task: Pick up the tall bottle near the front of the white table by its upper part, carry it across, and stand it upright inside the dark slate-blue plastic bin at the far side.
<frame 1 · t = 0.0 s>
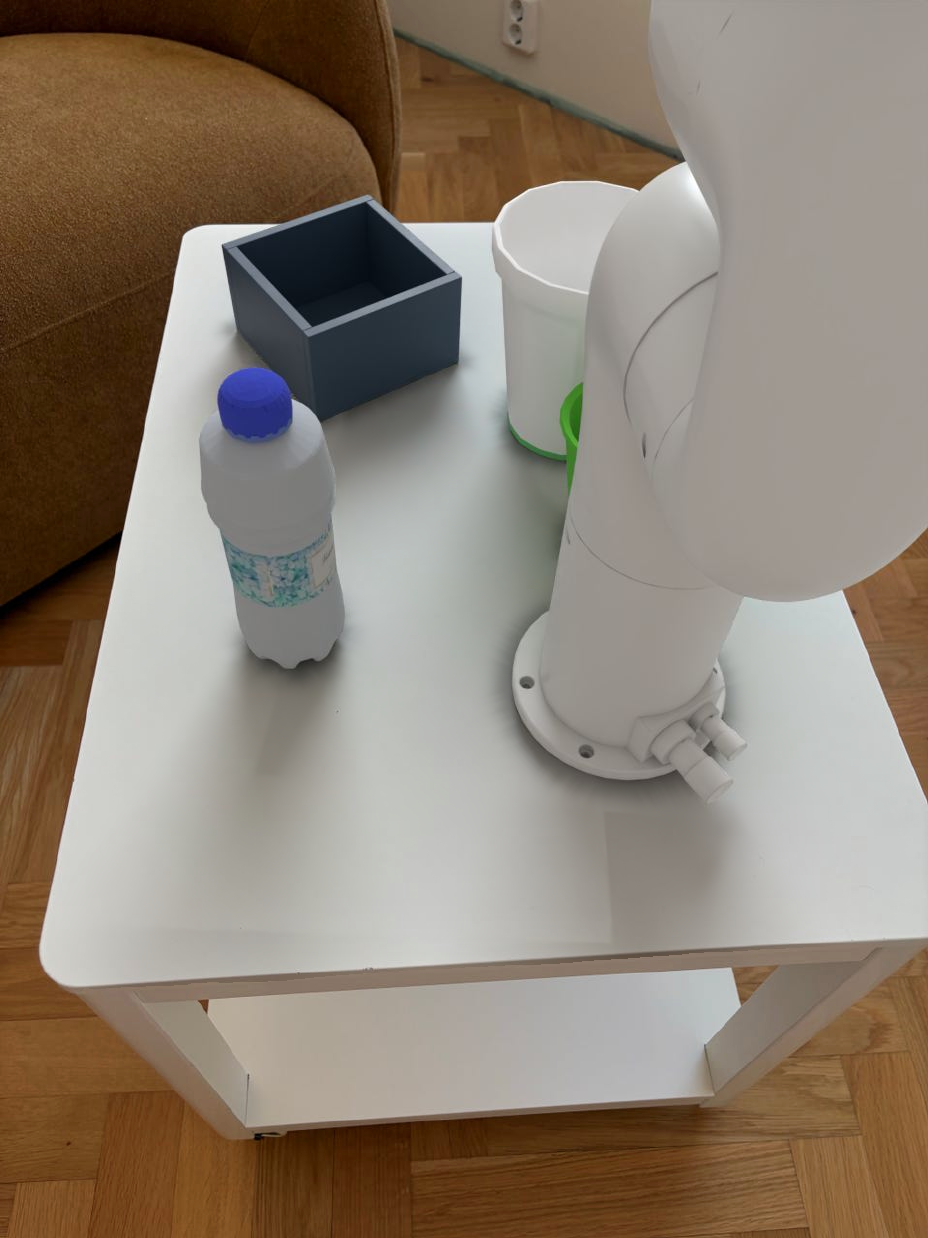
cup 2: (563, 423, 74), on the table
bottle: (295, 637, 61), on the table
cup: (607, 545, 67), on the table
bin: (346, 346, 78), on the table
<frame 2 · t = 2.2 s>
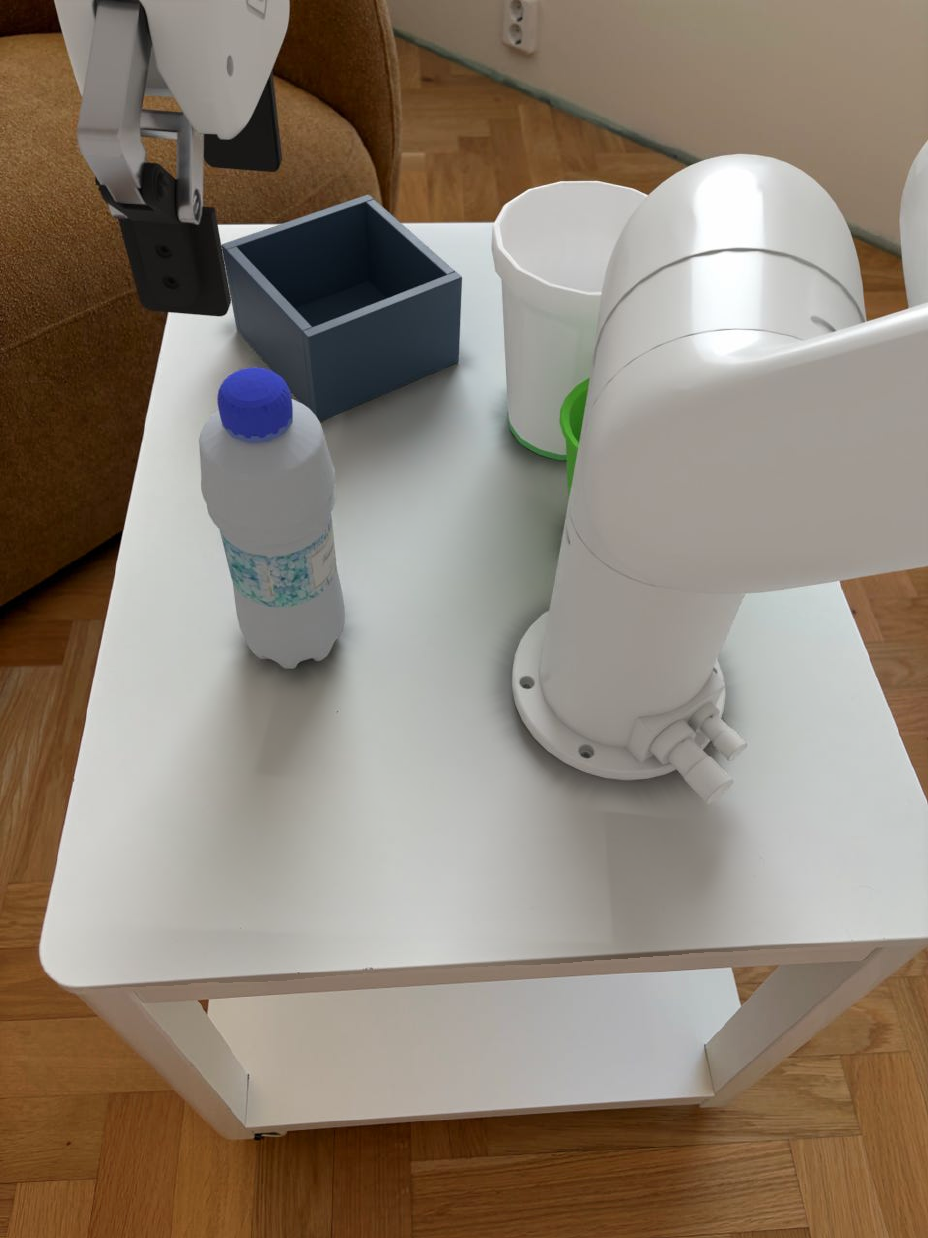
hand: (218, 232, 39), 27 cm above the table, tool pointing down, fingers open, 9 cm apart
nothing on the table moved.
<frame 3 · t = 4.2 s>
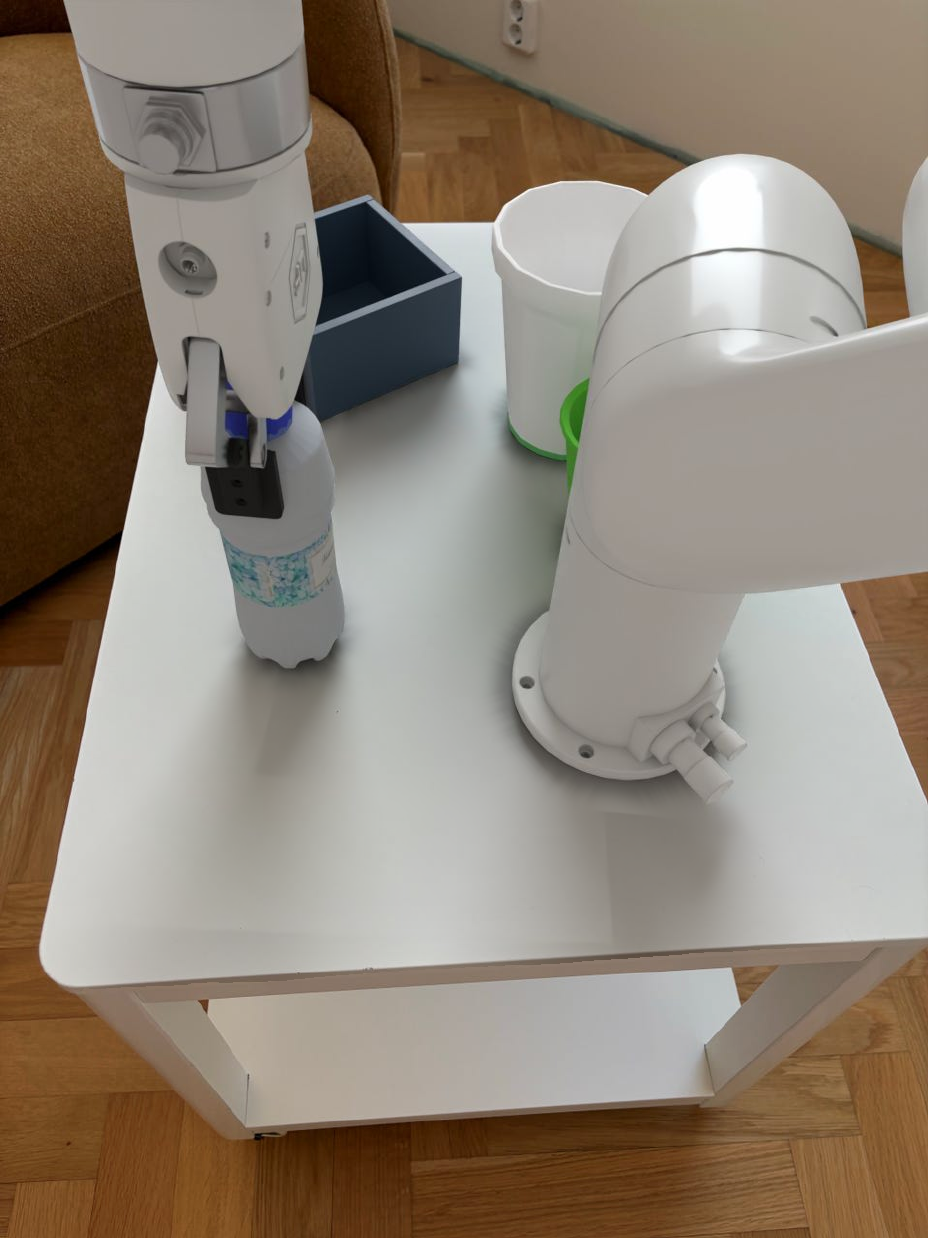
hand: (264, 459, 49), 15 cm above the table, tool pointing down, fingers closed on bottle, 6 cm apart
bottle: (295, 637, 61), on the table, touching gripper
everything else where it was.
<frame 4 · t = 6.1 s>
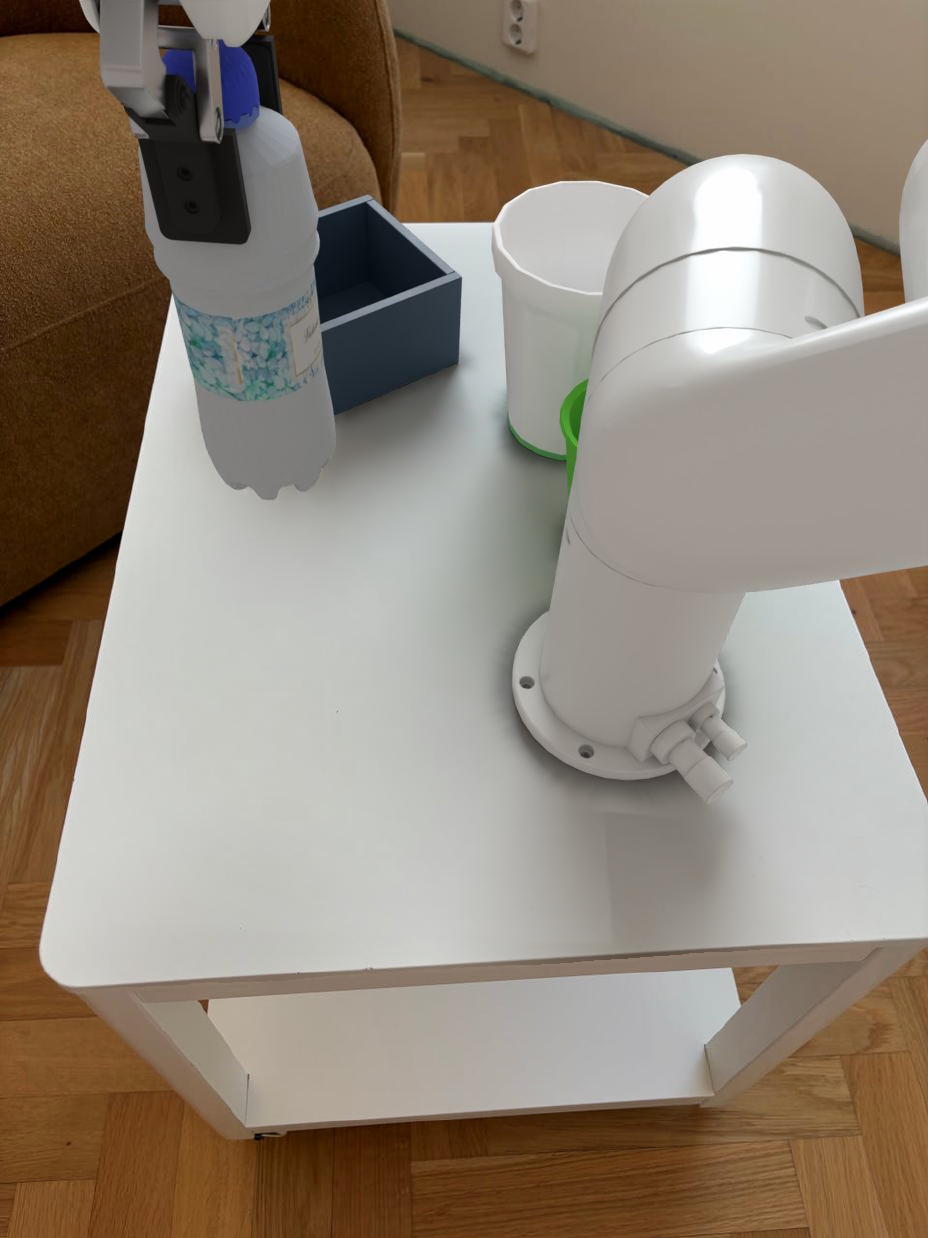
hand: (226, 182, 38), 29 cm above the table, tool pointing down, fingers closed on bottle, 6 cm apart
bottle: (276, 468, 50), point 14 cm above the table, touching gripper
everything else where it was.
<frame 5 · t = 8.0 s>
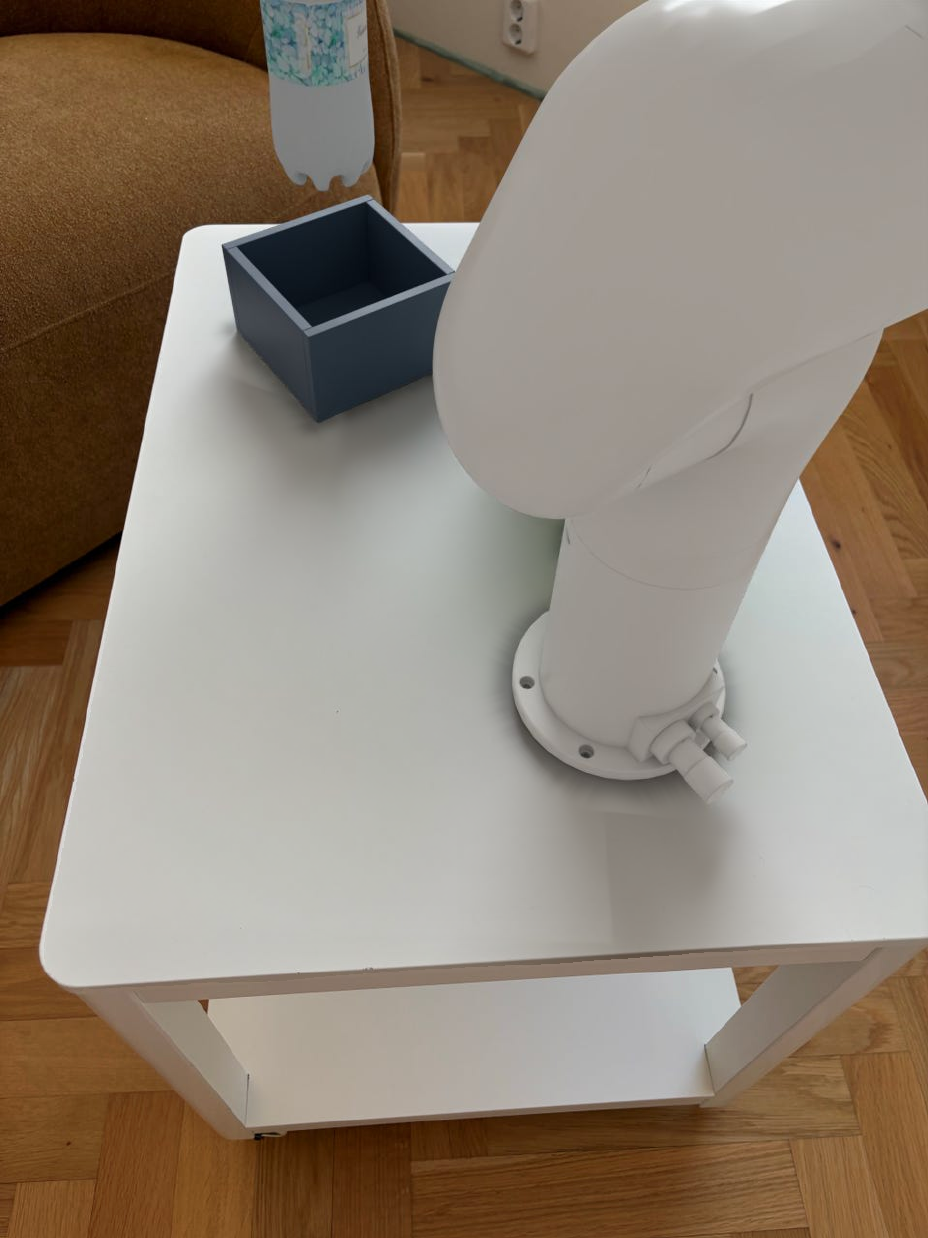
bottle: (326, 174, 64), point 15 cm above the table, touching gripper
everything else where it was.
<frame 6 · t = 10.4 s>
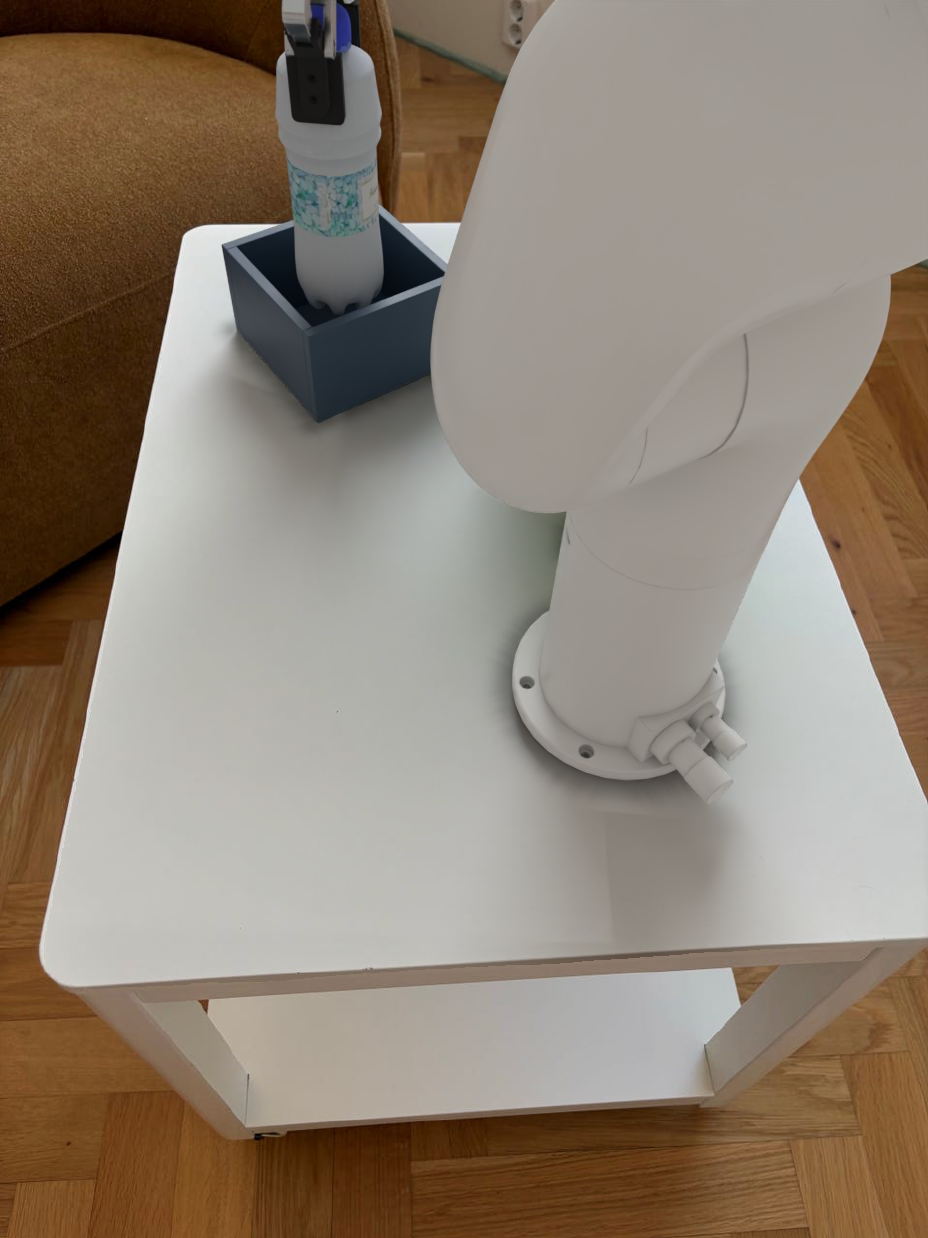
hand: (328, 91, 62), 20 cm above the table, tool pointing down, fingers closed on bottle, 6 cm apart
bottle: (342, 298, 74), point 4 cm above the table, touching gripper
everything else where it was.
when the fingers open (16 cm above the table, at t = 12.0 s): bottle stays where it is, resting on bin.
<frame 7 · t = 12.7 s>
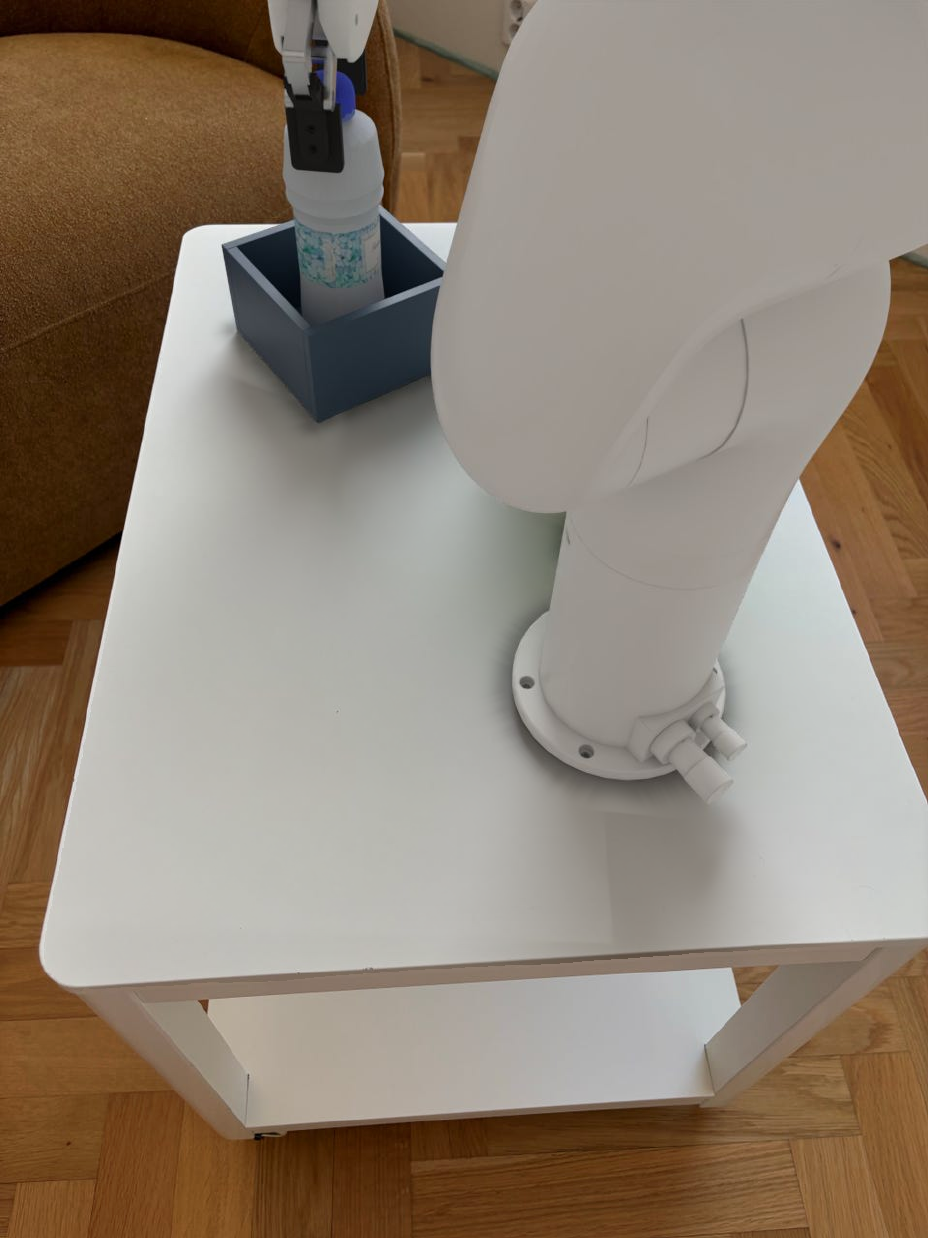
hand: (331, 128, 64), 17 cm above the table, tool pointing down, fingers open, 9 cm apart
bottle: (346, 342, 77), resting on bin
everything else where it was.
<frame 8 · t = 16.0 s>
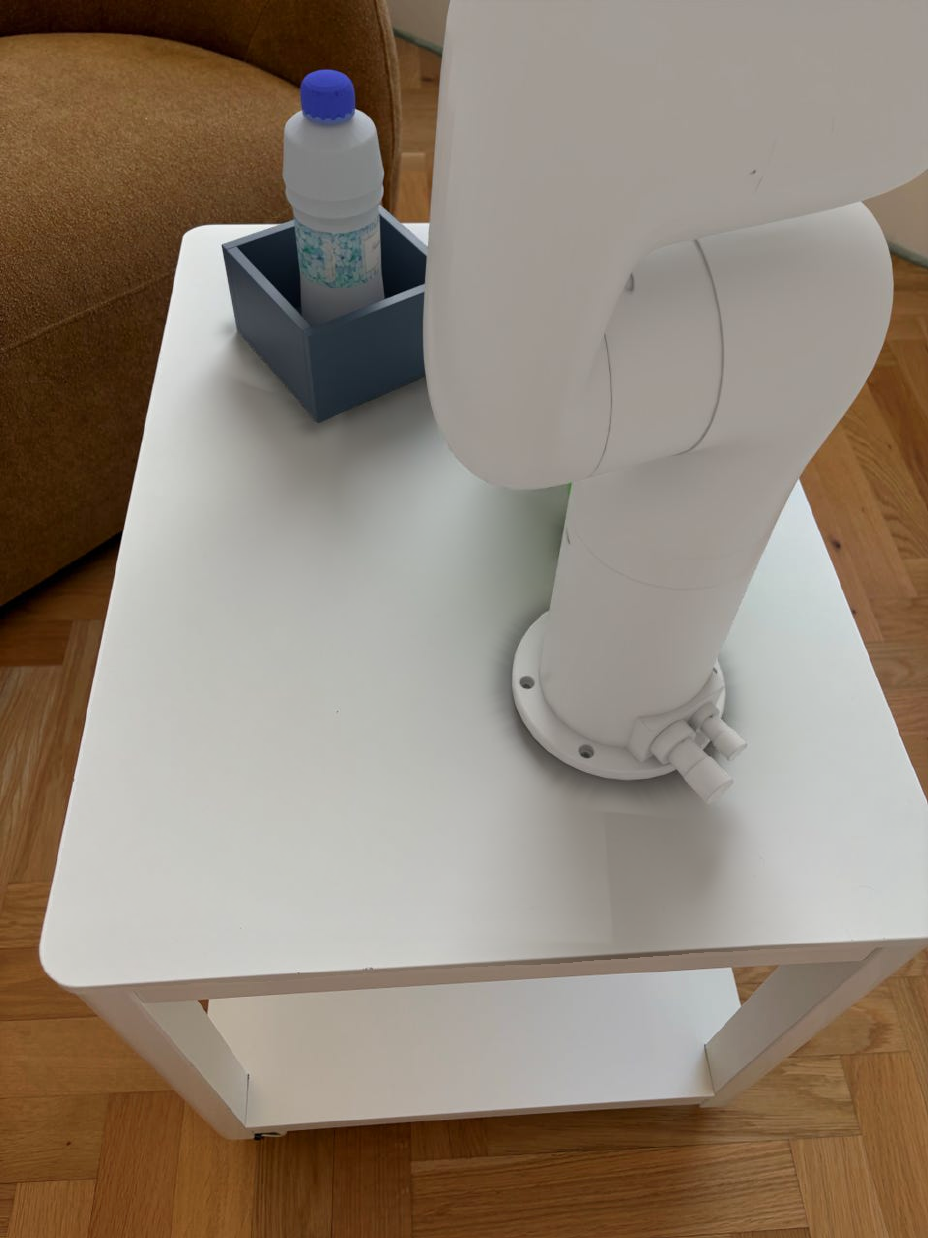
nothing on the table moved.
at the end: bottle inside the target area in the bin (0.1 cm from its centre), point 0.4 cm above the bin's base; bottle tilted 0°; the gripper is holding nothing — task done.
